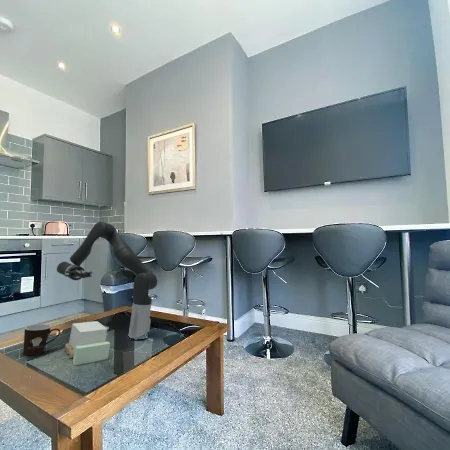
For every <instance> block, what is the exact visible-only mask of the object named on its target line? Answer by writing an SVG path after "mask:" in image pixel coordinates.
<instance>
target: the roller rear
mask: <svg viewBox="0 0 450 450" xmlns="http://www.w3.org/2000/svg"><path fill="white" fill-rule="evenodd" d="M67 346H71V345H70V344H69V342H68V343H65V345H64V352H66V350H67Z"/></svg>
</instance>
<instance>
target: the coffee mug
mask: <svg viewBox="0 0 450 450" xmlns="http://www.w3.org/2000/svg"><path fill="white" fill-rule="evenodd" d="M51 328H52V325H50V324H45V323H39V324H37V323H36V324H30V325H28V326H27V325H26V326H25V327H24V335H23V352H22V355H23V356H24V357H36V356H40V355H42V354H43V353H44V350H45V348H46V346H47V345H48V344H50V343H51V342H53V341H55V340H56V339H57V338H58V337H59V336H60V335H61V330H60V329H59V328H53V329H51ZM54 331H57V332H58V334H57V335H56V336H55V337H54V338H52V339H51V340H49V341H48V338H49V335H50V334H51V333H52V332H54Z"/></svg>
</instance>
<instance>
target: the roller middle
mask: <svg viewBox="0 0 450 450" xmlns="http://www.w3.org/2000/svg"><path fill="white" fill-rule="evenodd" d="M72 349H73V348H72V347H71V346H67V350H66V355H69V351H70V350H72Z"/></svg>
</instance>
